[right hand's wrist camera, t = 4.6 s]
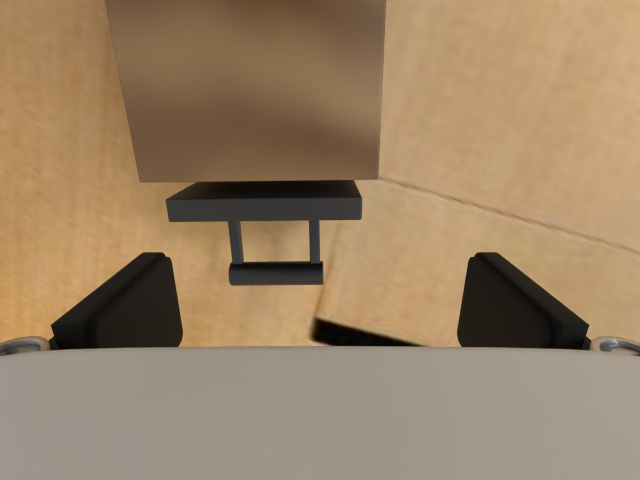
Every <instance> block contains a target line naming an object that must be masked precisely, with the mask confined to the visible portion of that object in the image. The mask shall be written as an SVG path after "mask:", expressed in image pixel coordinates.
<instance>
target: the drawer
mask: <svg viewBox="0 0 640 480" xmlns="http://www.w3.org/2000/svg"><path fill="white" fill-rule="evenodd" d="M166 206H167V211H168V217H169V221H170V222H206V221H228V226H229V235H230V244H231V253H232V262H231V264H230V267H229V282H230V284H231V285H232V286H237V285H323V261H320V234H319V220H360V219H361V218H362V197H361V195H360V193H359V190H358V188H357V186H356V184H355V182H354V180H302V181H221V182H196V183H195V184H193V185H191V186H189V187H187V188H186V189H184V190H182V191H180V192H178V193H177V194H175V195H173V196H171V197H169V198H168V199H166ZM295 220H309V238H310V261H289V262H243V261H244V257H243V247H242V236H241V226H240V221H295Z"/></svg>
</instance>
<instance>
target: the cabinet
mask: <svg viewBox="0 0 640 480" xmlns="http://www.w3.org/2000/svg"><path fill="white" fill-rule="evenodd" d="M105 3H106V8H107V13H108V18H109V23H110V29H111V34H112V39H113V44H114V49H115V55H116V60H117V65H118V70H119V75H120V81H121V86H122V91H123V96H124V101H125V107H126V112H127V117H128V122H129V127H130V133H131V138H132V143H133V148H134V153H135V159H136V164H137V169H138V174H139V179H140V182H221V181H302V180H377V179H378V172H379V149H380V126H381V104H382V81H383V58H384V36H385V13H386V0H105Z"/></svg>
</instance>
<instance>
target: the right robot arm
mask: <svg viewBox="0 0 640 480" xmlns="http://www.w3.org/2000/svg"><path fill="white" fill-rule="evenodd" d="M51 327H52V330H53V334H54V337H52V338H51V339H50V340H49V341H48V340H47V339H45V338H43V337H38V336H28V337H20V338H16V339H12V340H8V341H5V342H2V343H0V480H640V343H638V342H635V341H632V340H628V339H624V338H620V337H612V336H602V337H597V338H595V339H593V340H592V341H591V340H590V339H589V338H588V337H586V334H587V330H588V327H589V325H588V324H587V323H586V322H585V321H583V320H582V319H581V318H580V317H578V316H577V315H576V314H575V313H573V312H572V311H571V310H569V309H568V308H567V307H566V306H564V305H563V304H562V303H561V302H559V301H558V300H557V299H555V298H554V297H553V296H552V295H550V294H549V293H548V292H547V291H545V290H544V289H543V288H542V287H540V286H539V285H538V284H536V283H535V282H534V281H533V280H531V279H530V278H529V277H528V276H526V275H525V274H524V273H523V272H521V271H520V270H519V269H517V268H516V267H515V266H514V265H512V264H511V263H510V262H509V261H507V260H506V259H505V258H503V257H502V256H501V255H500V254H498V253H496V252H479V253H476V254H475V256H474V257H471V258H470V259H469V261H468V267H467V273H466V279H465V286H464V292H463V298H462V304H461V311H460V317H459V323H458V329H457V336H458V340H459V343H460V345H461V346H462V347H377V346H248V347H178V346H179V345H180V343H181V340H182V336H183V329H182V323H181V317H180V311H179V304H178V298H177V292H176V286H175V279H174V273H173V267H172V261H171V259H170V258H169V257H166V256H165V254H164V253H161V252H144V253H142V254H140V255H139V256H138V257H137V258H135V259H134V260H133V261H131V262H130V263H129V264H128V265H126V266H125V267H124V268H123V269H121V270H120V271H119V272H117V273H116V274H115V275H114V276H112V277H111V278H110V279H109V280H107V281H106V282H105V283H104V284H102V285H101V286H100V287H98V288H97V289H96V290H95V291H93V292H92V293H91V294H90V295H88V296H87V297H86V298H85V299H83V300H82V301H81V302H79V303H78V304H77V305H76V306H74V307H73V308H72V309H71V310H69V311H68V312H67V313H65V314H64V315H63V316H62V317H60V318H59V319H58V320H57V321H55V322H54V323H53V324H52V325H51Z"/></svg>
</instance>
